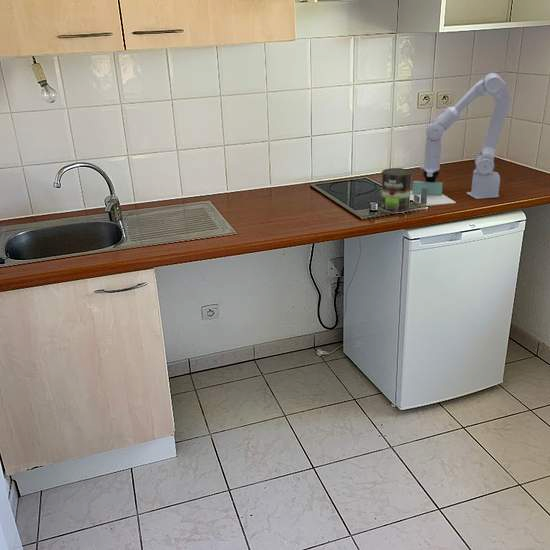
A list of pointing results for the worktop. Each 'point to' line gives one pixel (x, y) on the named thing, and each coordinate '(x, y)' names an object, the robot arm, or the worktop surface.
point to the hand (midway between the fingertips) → (429, 190)
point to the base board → (433, 199)
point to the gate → (427, 187)
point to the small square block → (422, 196)
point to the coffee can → (396, 189)
